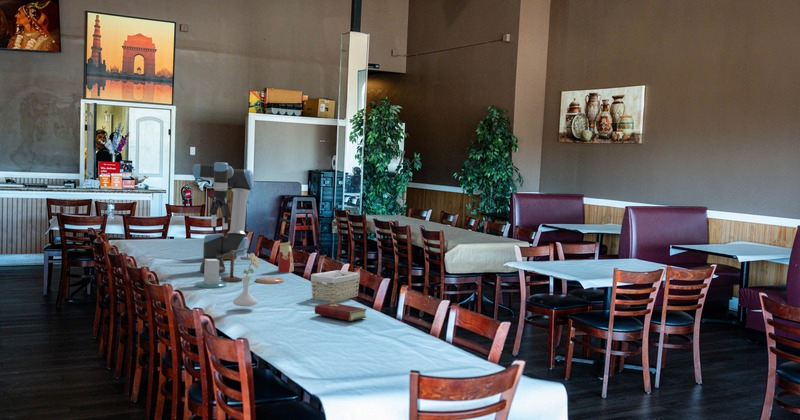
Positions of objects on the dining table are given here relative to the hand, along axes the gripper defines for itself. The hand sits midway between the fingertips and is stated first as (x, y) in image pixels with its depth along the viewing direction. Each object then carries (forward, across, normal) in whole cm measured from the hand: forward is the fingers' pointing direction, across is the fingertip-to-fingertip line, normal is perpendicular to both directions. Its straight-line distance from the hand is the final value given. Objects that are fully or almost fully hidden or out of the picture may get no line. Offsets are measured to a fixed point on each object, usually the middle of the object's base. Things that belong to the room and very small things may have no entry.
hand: (219, 227), depth 403 cm
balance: (+31, 0, +9) cm, 32 cm away
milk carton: (+32, -14, +53) cm, 64 cm away
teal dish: (+30, +12, -10) cm, 34 cm away
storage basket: (+32, +68, +32) cm, 82 cm away
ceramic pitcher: (+34, -81, +45) cm, 99 cm away
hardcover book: (+28, +107, +7) cm, 111 cm away
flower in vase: (+28, +69, -20) cm, 78 cm away
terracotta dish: (+31, +12, +27) cm, 42 cm away
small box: (+29, +12, -10) cm, 33 cm away
